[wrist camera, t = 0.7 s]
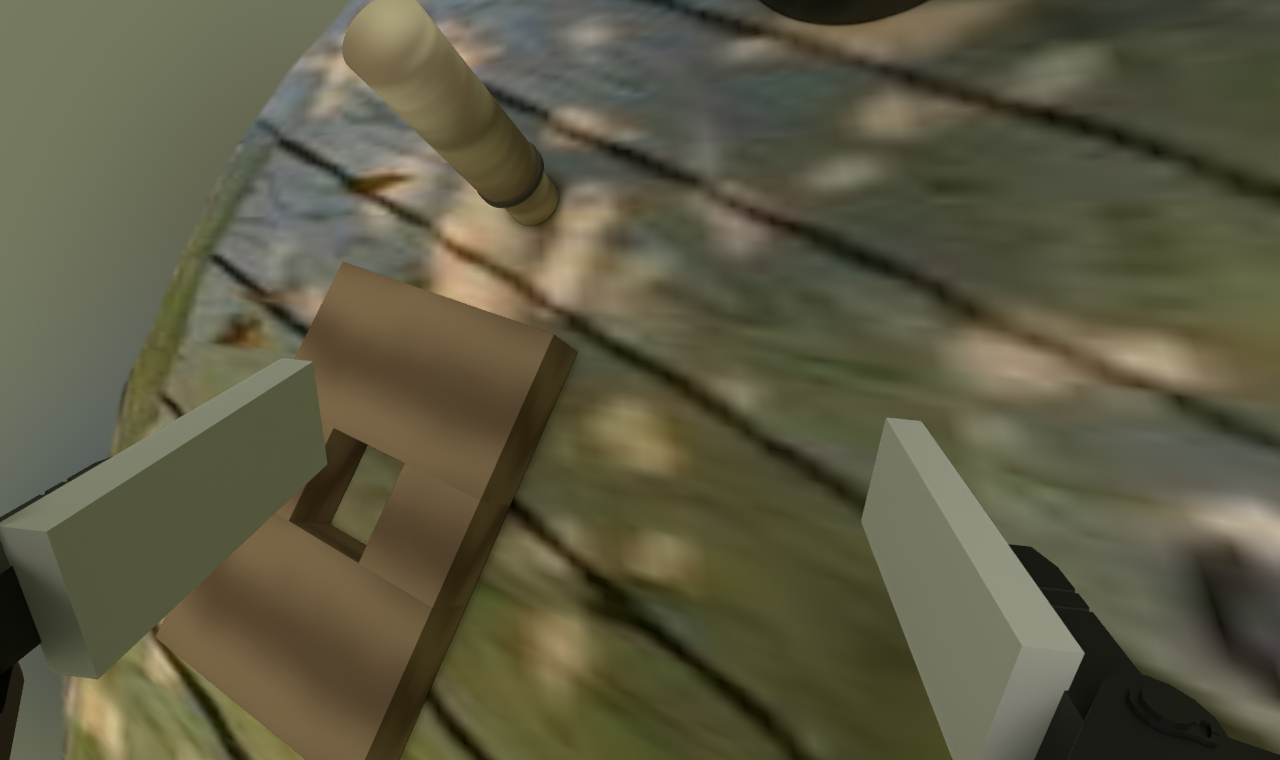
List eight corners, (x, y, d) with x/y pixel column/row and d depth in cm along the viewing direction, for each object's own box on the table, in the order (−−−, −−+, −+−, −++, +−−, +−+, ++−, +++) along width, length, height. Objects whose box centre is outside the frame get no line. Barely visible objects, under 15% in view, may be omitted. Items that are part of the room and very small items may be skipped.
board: (376, 281, 43) (342, 261, 40) (577, 351, 36) (553, 334, 34) (204, 632, 39) (155, 637, 37) (391, 776, 33) (349, 795, 30)
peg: (522, 166, 41) (368, -13, 28) (576, 178, 40) (439, -6, 27) (494, 224, 41) (325, 68, 28) (549, 239, 39) (394, 80, 26)
